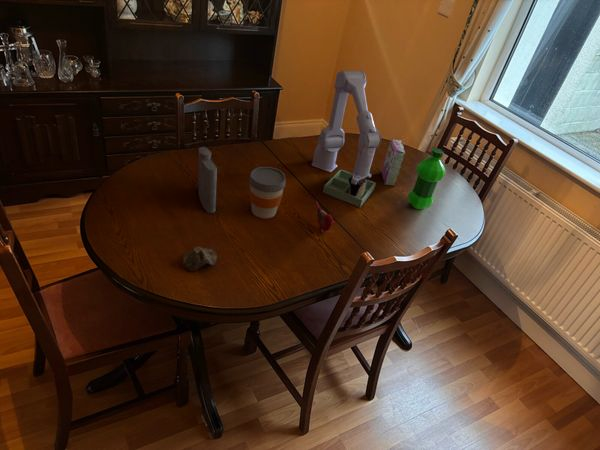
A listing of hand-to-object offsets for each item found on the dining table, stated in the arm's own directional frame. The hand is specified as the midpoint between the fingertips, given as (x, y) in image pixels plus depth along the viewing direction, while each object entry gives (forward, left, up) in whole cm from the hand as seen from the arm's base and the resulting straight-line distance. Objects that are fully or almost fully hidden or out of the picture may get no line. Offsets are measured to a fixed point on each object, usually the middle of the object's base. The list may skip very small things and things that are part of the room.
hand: (356, 191), depth 175 cm
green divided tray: (-4, +4, -3) cm, 6 cm away
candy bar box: (+6, +25, -3) cm, 26 cm away
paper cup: (0, 0, -2) cm, 2 cm away
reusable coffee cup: (-24, -30, -3) cm, 39 cm away
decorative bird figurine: (-3, -26, -3) cm, 26 cm away
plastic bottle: (+23, +13, -3) cm, 27 cm away
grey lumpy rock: (-25, -66, -3) cm, 71 cm away
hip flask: (-44, -38, -3) cm, 58 cm away
